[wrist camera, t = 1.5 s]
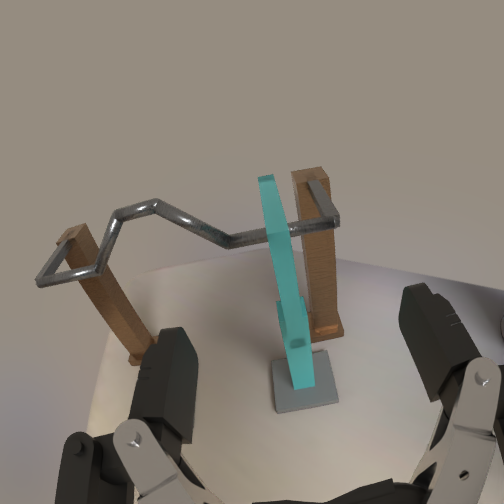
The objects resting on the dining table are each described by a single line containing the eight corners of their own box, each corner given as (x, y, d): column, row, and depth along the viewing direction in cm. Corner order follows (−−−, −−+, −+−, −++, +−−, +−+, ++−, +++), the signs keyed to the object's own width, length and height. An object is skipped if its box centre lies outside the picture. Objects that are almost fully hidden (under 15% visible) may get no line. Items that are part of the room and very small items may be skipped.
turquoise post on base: (272, 360, 37) (221, 185, 23) (326, 350, 36) (309, 167, 23) (277, 418, 30) (213, 245, 16) (339, 407, 29) (341, 220, 16)
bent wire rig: (336, 312, 41) (320, 124, 26) (355, 375, 32) (362, 159, 17) (137, 343, 44) (51, 198, 29) (123, 401, 35) (1, 252, 20)
